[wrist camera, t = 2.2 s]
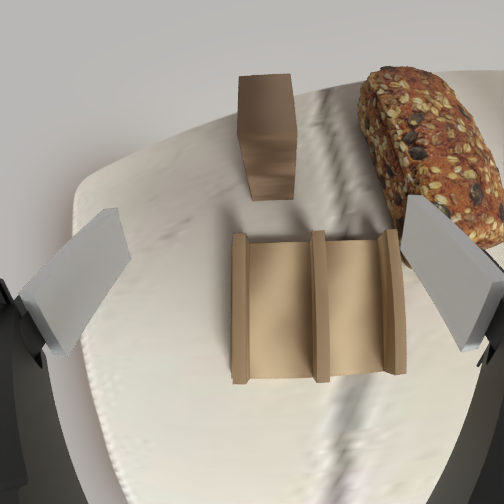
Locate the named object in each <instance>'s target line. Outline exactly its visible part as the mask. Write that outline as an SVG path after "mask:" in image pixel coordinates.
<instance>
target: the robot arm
mask: <svg viewBox="0 0 504 504" xmlns="http://www.w3.org/2000/svg"><path fill="white" fill-rule="evenodd" d="M400 250H401V252H402V253H403V255H404V256H405V258H406V259H407V261H408V262H409V264H410V265H411V267H412V268H413V270H414V272H415V273H416V275H417V276H418V278H419V279H420V281H421V283H422V284H423V286H424V287H425V289H426V291H427V292H428V294H429V296H430V297H431V299H432V301H433V302H434V304H435V306H436V307H437V309H438V311H439V313H440V314H441V316H442V318H443V320H444V321H445V323H446V325H447V327H448V329H449V331H450V332H451V334H452V336H453V338H454V340H455V342H456V344H457V346H458V348H459V349H460V351H461V352H465V351H470V350H474V349H478V347H479V345H480V344H481V342H482V340H483V338H484V336H485V335H486V337H487V339H488V340H489V342H490V343H489V344H488V346H487V348H486V350H485V352H484V353H483V355H482V357H481V359H480V360H479V362H478V364H477V367H479V366H480V364H481V363H482V366H481V370H480V374H479V378H478V381H477V385H476V388H475V392H474V395H473V398H472V401H471V404H470V407H469V410H468V413H467V416H466V419H465V421H464V424H463V427H462V429H461V432H460V435H459V437H458V439H457V442H456V444H455V447H454V449H453V451H452V454H451V456H450V458H449V460H448V462H447V465H446V467H445V469H444V471H443V473H442V475H441V477H440V479H439V481H438V483H437V485H436V486H435V488H434V490H433V492H432V494H431V496H430V497H429V499H428V501H427V503H426V504H504V270H503V269H502V267H501V266H500V267H499V264H498V263H497V262H496V261H495V260H493V258H492V257H491V256H490V255H489V254H488V253H487V252H486V251H485V250H483V249H482V248H480V247H479V246H477V245H476V244H475V243H474V242H473V241H472V240H471V239H470V238H469V237H468V236H467V235H466V234H465V233H464V232H463V231H462V230H461V229H460V228H459V227H458V226H457V225H456V224H454V223H453V222H452V221H451V220H450V219H449V218H448V217H447V216H446V215H445V214H444V213H442V212H441V211H440V210H439V209H438V208H437V207H436V206H434V205H433V204H432V203H431V202H430V201H429V200H427V199H426V198H425V197H424V196H423V195H408V200H407V207H406V215H405V222H404V228H403V235H402V241H401V247H400ZM130 259H131V257H130V254H129V250H128V247H127V243H126V240H125V236H124V232H123V229H122V225H121V221H120V217H119V213H118V209H117V208H110V209H104V210H102V211H101V212H100V213H99V214H98V215H97V216H96V217H94V218H93V219H92V220H91V221H90V222H89V223H88V224H87V225H86V226H84V227H83V228H82V229H81V230H80V231H79V232H78V233H77V234H76V235H75V236H74V237H73V238H72V239H70V241H69V242H67V243H66V244H65V245H64V246H63V247H62V248H61V249H60V250H59V251H58V252H57V253H56V254H55V255H54V256H53V257H52V258H51V259H50V260H49V261H48V262H47V263H46V264H45V265H44V266H43V267H42V268H41V269H40V270H39V271H38V272H37V274H36V275H35V276H34V277H33V278H32V279H31V280H30V281H29V282H28V283H27V284H26V285H25V286H24V288H23V289H22V290H21V291H20V292H19V295H18V296H17V297H16V299H15V300H13V298H12V297H11V294H10V292H9V291H8V288H7V286H6V284H5V282H4V280H3V279H0V504H88V502H87V500H86V497H85V495H84V492H83V490H82V488H81V485H80V483H79V480H78V478H77V475H76V472H75V470H74V467H73V464H72V461H71V458H70V456H69V452H68V449H67V446H66V443H65V439H64V436H63V433H62V429H61V425H60V422H59V418H58V414H57V410H56V406H55V401H54V397H53V393H52V388H51V383H50V378H49V372H48V366H47V360H46V356H45V353H44V352H43V350H42V347H43V346H44V344H45V343H46V344H47V345H48V347H49V349H50V350H51V352H52V353H53V354H54V355H59V356H64V357H68V356H69V354H70V353H71V351H72V349H73V347H74V346H75V344H76V343H77V341H78V339H79V338H80V336H81V334H82V333H83V331H84V329H85V328H86V326H87V324H88V323H89V321H90V320H91V318H92V316H93V315H94V313H95V312H96V310H97V309H98V307H99V305H100V304H101V302H102V301H103V299H104V298H105V296H106V295H107V293H108V292H109V290H110V289H111V287H112V286H113V284H114V283H115V281H116V280H117V278H118V277H119V275H120V274H121V272H122V271H123V269H124V268H125V267H126V265H127V264H128V262H129V261H130Z"/></svg>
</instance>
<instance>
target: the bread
mask: <svg viewBox="0 0 504 504" xmlns="http://www.w3.org/2000/svg"><path fill="white" fill-rule="evenodd" d="M380 69H381V70H380V71H377V72H372V73H370V76H369V77H368V78H367V80H366V81H365V82H364V83H363V85H362V86H361V96H360V98H359V101H360V102H359V104H358V105H357V106H358V109H359V113H358V118H359V124H360V129H361V130H362V131H363V133H364V136H365V138H366V140H367V143H368V146H369V149H370V153H371V157H372V160H373V164H374V165H375V167H376V171H377V174H378V179H379V180H380V183H381V187H382V190H383V193H384V197H385V200H386V203H387V206H388V210H389V213H390V215H391V216H392V219H393V225H394V227H395V229H397V233H398V239H399V240H400V243H399V244H400V246H401V241H402V235H403V228H404V222H405V215H406V207H407V200H408V195H423V196H424V197H425V198H426V199H427V200H429V201H430V202H431V203H432V204H433V205H434V206H436V207H437V208H438V209H439V210H440V211H441V212H442V213H444V214H445V215H446V216H447V217H448V218H449V219H450V220H451V221H452V222H453V223H454V224H456V225H457V226H458V227H459V228H460V229H461V230H462V231H463V232H464V233H465V234H466V235H467V236H468V237H469V238H470V239H471V240H472V241H473V242H474V243H475V244H476V245H477V246H479V247H480V248H482V249H483V250H485V249H488V248H491V247H494V246H496V245H498V244H500V243H502V242H504V189H503V187H502V183H501V179H500V174H499V170H498V168H497V167H496V164H495V161H494V159H493V156H492V153H491V151H490V150H489V149H488V147H487V146H486V144H485V143H484V140H483V138H482V136H481V133H480V132H479V129H478V127H477V126H476V124H475V121H474V119H473V116H472V115H471V114H470V113H468V112H467V110H466V109H465V107H464V106H463V105H462V104H461V103H460V102H459V100H458V98H457V96H456V95H455V94H454V90H452V89H451V88H450V87H449V86H448V84H447V83H446V82H445V81H444V80H442V79H441V78H440V77H438V76H437V75H434V74H432V73H431V72H427V71H424V70H419V69H416V68H413V67H391V66H385V67H381V68H380ZM403 257H404V260H405V262H406V266H407V267H408V268H410V269H413V268H412V267H411V265H410V264H409V262H408V261H407V259H406V258H405V256H404V255H403Z"/></svg>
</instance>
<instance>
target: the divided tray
mask: <svg viewBox="0 0 504 504" xmlns="http://www.w3.org/2000/svg"><path fill="white" fill-rule="evenodd" d="M381 371H385V372H387V373H390V374H393V375H400V374H406V316H405V299H404V286H403V275H402V265H401V256H400V248H399V240H398V233H397V229H386V230H385V231H384V232H383V233H382V235H381V236H380V237H379V238H378V239H377V240H350V241H325V231H312V233H311V237H310V241H309V242H279V243H249V241H248V239H247V236H246V233H233V244H232V264H231V378H233V384H246V383H247V382H248V380H249V379H278V378H310V377H313V378H314V379H315V381H316V382H317V383H325V382H330V376H341V375H353V374H363V373H372V372H381Z"/></svg>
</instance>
